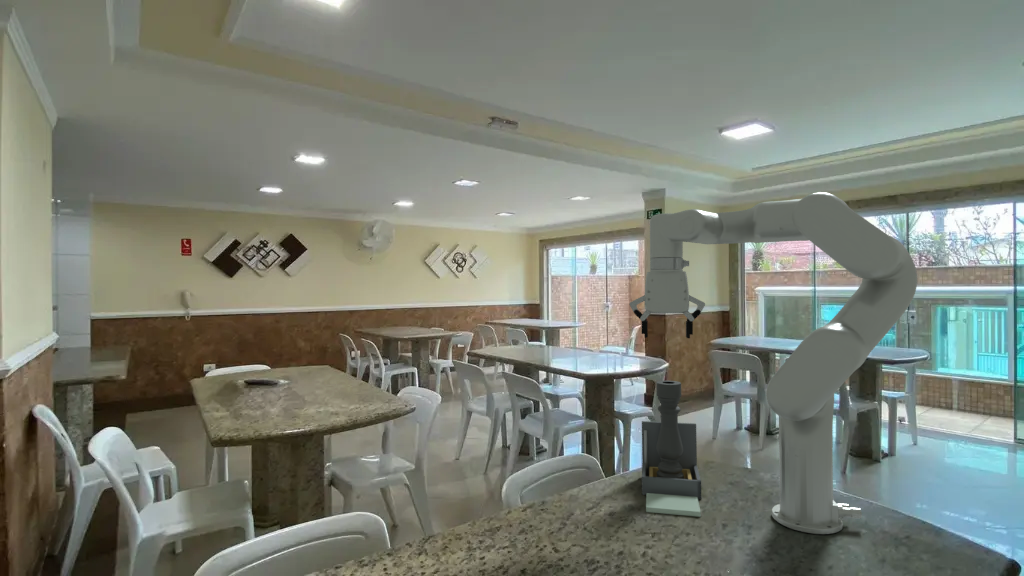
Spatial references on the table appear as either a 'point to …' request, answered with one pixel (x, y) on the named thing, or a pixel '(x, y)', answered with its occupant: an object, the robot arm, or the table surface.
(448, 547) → the table surface
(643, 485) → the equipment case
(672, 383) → the candle holder
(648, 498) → the sage pad
